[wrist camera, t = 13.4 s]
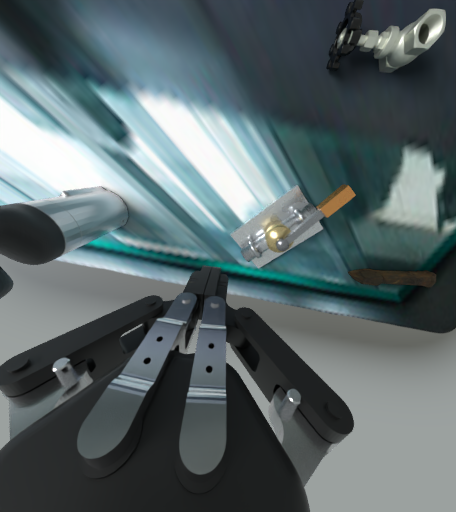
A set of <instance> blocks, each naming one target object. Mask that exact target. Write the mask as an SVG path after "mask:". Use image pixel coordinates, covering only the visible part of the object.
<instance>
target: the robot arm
mask: <svg viewBox="0 0 456 512" xmlns="http://www.w3.org/2000/svg"><path fill="white" fill-rule="evenodd" d="M127 220H128V210H127V207H126V205H125V203H124V202H123V200H122V199H121V198H120V197H119V196H118V195H116V194H115V193H113V192H111V191H107V190H104V189H103V188H102V187H101V186H99V187H91V188H83V189H75V190H67V191H63V192H62V193H61V194H60V196H59V197H54V198H47V199H41V200H35V201H28V202H22V203H15V204H9V205H3V206H0V254H2V255H4V256H6V257H8V258H10V259H13V260H15V261H17V262H21V263H24V264H30V265H38V264H44V263H47V262H49V261H52V260H54V259H56V258H58V257H60V256H62V255H64V254H66V253H68V252H70V251H72V250H74V249H76V248H78V247H80V246H82V245H85V244H87V243H89V242H91V241H93V240H95V239H97V238H99V237H101V236H103V235H105V234H107V233H109V232H111V231H113V230H116V229H118V228H120V227H122V226H123V225H125V223H126V222H127ZM220 273H221V268H218V267H210V266H203V267H202V269H201V271H195V272H194V273H192V274H191V276H190V279H189V281H188V283H187V285H186V287H185V289H184V291H183V293H181V294H179V295H178V296H177V297H176V299H175V300H171V301H163V300H162V298H160V297H159V296H154V295H153V296H148V297H145V298H143V299H141V300H138V301H136V302H134V303H132V304H130V305H127V306H125V307H123V308H121V309H118V310H116V311H114V312H112V313H110V314H107V315H105V316H103V317H101V318H98V319H96V320H94V321H92V322H90V323H87V324H85V325H83V326H81V327H78V328H76V329H74V330H72V331H69V332H67V333H65V334H63V335H61V336H58V337H56V338H54V339H52V340H49V341H47V342H45V343H43V344H40V345H38V346H36V347H34V348H32V349H29V350H27V351H25V352H23V353H21V354H18V355H17V356H14V357H12V358H11V359H9V360H8V361H6V362H5V363H4V364H2V365H1V366H0V390H1V391H2V394H3V395H4V397H6V398H7V399H8V400H9V417H10V441H9V442H8V443H7V444H6V445H5V446H4V447H3V448H2V449H1V450H0V512H310V509H309V504H308V500H307V496H306V492H305V489H304V486H305V485H306V483H307V482H308V480H309V479H310V477H311V476H312V474H313V473H314V471H315V469H316V468H317V466H318V465H319V463H320V461H321V460H322V459H323V457H324V456H325V455H327V454H328V453H329V452H330V451H331V450H332V449H333V448H334V447H335V446H336V445H337V444H339V443H340V442H341V441H342V440H343V439H344V438H345V437H346V436H347V435H348V434H349V433H350V432H352V430H353V427H354V420H353V416H352V414H351V412H350V410H349V408H348V406H347V405H346V404H345V402H344V401H343V400H342V399H341V398H340V397H339V396H338V395H337V394H336V393H335V392H334V391H333V390H332V389H331V388H330V387H329V386H328V385H327V384H326V383H325V382H324V381H323V380H322V379H321V378H320V377H319V376H318V375H317V374H316V373H315V372H314V371H313V370H312V369H311V368H310V367H309V366H308V365H307V364H306V363H305V362H304V361H303V360H302V359H301V358H300V357H299V356H298V355H297V354H296V353H295V352H294V351H293V350H292V349H291V348H290V347H289V346H288V345H287V344H286V343H285V342H284V341H283V340H282V339H281V338H280V337H279V336H278V335H277V334H276V333H275V332H274V331H273V330H272V329H271V328H270V327H269V326H268V325H267V324H266V323H265V322H264V321H263V320H262V319H261V318H260V317H259V316H258V315H257V314H256V313H255V312H254V311H253V310H252V309H249V308H245V307H244V308H239V309H238V310H235V309H233V308H231V307H229V306H228V305H227V303H226V294H227V286H228V277H227V275H226V274H220ZM12 287H13V281H12V279H11V278H10V277H9V276H8V275H7V273H6V272H5V271H4V270H3V269H2V268H1V267H0V299H1V298H2V297H3V296H5V295H6V294H7V293H8V292H9V291H10V290H11V289H12ZM198 319H200V320H202V321H201V325H200V328H199V333H198V339H197V345H196V351H195V353H193V354H187V351H188V348H189V346H190V343H191V340H192V338H193V335H194V332H195V330H196V324H197V321H198ZM140 324H142V326H140V327H139V328H137V329H135V330H133V331H131V332H130V333H128V334H126V335H124V336H122V334H124V333H125V332H127V331H129V330H131V329H133V328H134V327H136V326H138V325H140ZM121 336H122V337H121ZM226 342H228V343H230V345H231V348H232V349H233V351H234V352H235V354H236V355H237V357H238V358H239V359H240V361H241V362H242V363H243V365H244V367H245V368H246V369H247V371H248V372H249V374H250V375H251V377H252V378H253V379H254V381H255V382H256V384H257V385H258V387H259V388H260V390H261V391H262V392H263V394H264V395H265V397H266V398H267V399H268V401H269V402H270V405H269V418H270V421H271V423H272V425H273V427H274V429H275V432H276V435H275V433H274V432H273V430H272V428H271V427H270V425H269V423H268V422H267V420H266V419H265V417H264V415H263V413H262V412H261V410H260V409H259V407H258V405H257V404H256V402H255V400H254V398H253V397H252V395H251V393H250V392H249V390H248V389H247V387H246V385H245V384H244V382H243V380H242V379H241V377H240V376H239V374H238V373H237V371H236V370H235V369H234V368H233V367H232V366H230V365H229V364H228V363H226ZM276 436H277V437H276Z"/></svg>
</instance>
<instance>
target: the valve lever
mask: <svg viewBox="0 0 456 512" xmlns="http://www.w3.org/2000/svg"><path fill="white" fill-rule="evenodd" d="M354 196H356V195H355V193H354V192H353V191H352V189H351V188H350V186H349V185H342V186H340V187H339V188H338V189H337V190H336V191H334V192H333V193H332V194H331V195H330V196H328V197H327V198H326V199H325V200H324V201H323V202H321V203H320V204H319V205H318V206H317V209H318V210H316V211H315V212H314V213H313V214H312V215H310V216H309V217H308V218H307V219H306V220H304V221H303V222H302V223H301V224H300V225H298V226H297V227H296V228H295V229H294V230H292V231H291V232H290V233H289V234H287V235H286V236H285V237H284V238H283V237H281V238H279V239H277V240H276V247H277V249H278V250H279V251H286V250H287V249H288V248H289V244H290V243H292V242H293V241H294V240H295V239H297V238H298V237H299V236H300V235H302V234H303V233H304V232H305V231H307V230H308V229H309V228H310V227H312V226H313V225H314V224H315V223H317V222H318V221H319V220H320V219H322V218H323V217H324V216H325V217H327V218H328V217H329V216H330V215H332V214H333V213H334V212H335V211H337V210H338V209H339V208H340V207H342V206H343V205H344V204H346V203H347V202H348V201H349V200H351V199H352V198H353V197H354Z"/></svg>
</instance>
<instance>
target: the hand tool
mask: <svg viewBox="0 0 456 512" xmlns="http://www.w3.org/2000/svg"><path fill="white" fill-rule="evenodd" d="M348 273H349V275H350V276H351V277H352V278H353V279H354V280H356V281H358V282H360V283H361V284H369V285H375V286H376V285H380V284H381V283H386V284H401V285H421V286H425V287H429V288H430V287H432V286H433V285H434V283H436V275H435V274H434V273H432V272H429V271H425V270H424V271H417V272H412V271H407V272H405V271H380V270H372V269H359V270H353V271H349V272H348Z"/></svg>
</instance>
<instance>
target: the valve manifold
mask: <svg viewBox="0 0 456 512" xmlns="http://www.w3.org/2000/svg"><path fill="white" fill-rule="evenodd" d="M315 211H316V208H315V207H314V206H313V205H312V204H311V203H308V202H307V200H306V198H305V197H304V195H303V193H302V192H301V190H300V188H299V187H298V185H296V184H295V185H294V186H293V187H291V188H290V189H289V190H287V191H286V192H285V193H283V194H282V195H281V196H279V197H278V198H277V199H275V200H274V201H273V202H271V203H270V204H269V205H267V206H266V207H265V208H263V209H262V210H261V211H259V212H258V213H257V214H255V215H254V216H252V217H251V218H250V219H248V220H247V221H246V222H244V223H243V224H242V225H240V226H239V227H238V228H236V229H235V230H234V231H232V232H231V234H230V235H231V236H232V237H233V239H234V240H235V241H236V242H237V243H238V245H239V246H240V247H241V248H242V249H241V253H242V255H243V257H244V258H245V259H246V260H247V261H248V262H250V261H251V260H252V262H253V263H254V264H255V265H256V266H257V268H260V267H262V266H263V265H265V264H267V263H268V262H270V261H272V260H273V259H275V258H277V257H278V256H280V255H281V254H283V253H285V252H286V251H288V250H290V249H291V248H293V247H295V246H296V245H298V244H299V243H301V242H303V241H304V240H306V239H308V238H309V237H311V236H313V235H314V234H316V233H317V232H319V231H321V230H322V229H323V227H322V226H321V224H320V222H319V221H318V222H317V223H315V224H314V225H313V226H312V227H310V228H309V229H308V230H307V231H305V232H304V233H303V234H302V235H300V236H299V237H298V238H297V239H295V240H294V241H293V242H292V243H290V244H289V248H288V249H287V250H286V251H279V250H278V249H277V247H276V240H277V239H279V238H281V237H283V238H284V237H285V236H286V235H287V234H289V233H290V232H291V231H292V230H294V229H295V228H296V227H297V226H298V225H300V224H301V223H302V222H303V221H304V220H306V219H307V218H308V217H309V216H310V215H312V214H313V213H314V212H315Z"/></svg>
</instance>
